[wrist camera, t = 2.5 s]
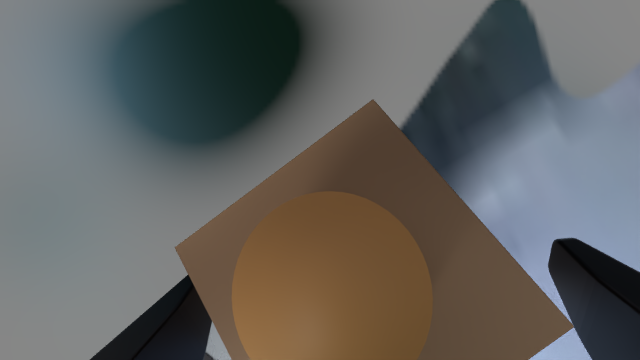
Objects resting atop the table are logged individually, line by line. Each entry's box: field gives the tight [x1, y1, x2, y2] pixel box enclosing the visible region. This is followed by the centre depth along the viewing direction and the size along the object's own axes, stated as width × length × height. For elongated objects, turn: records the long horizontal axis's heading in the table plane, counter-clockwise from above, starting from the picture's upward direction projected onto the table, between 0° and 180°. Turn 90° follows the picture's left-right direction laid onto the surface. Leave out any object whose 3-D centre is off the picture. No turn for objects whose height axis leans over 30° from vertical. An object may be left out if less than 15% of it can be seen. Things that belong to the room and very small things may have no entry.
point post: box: [175, 100, 574, 360], centre depth 10 cm, size 4×4×14 cm
